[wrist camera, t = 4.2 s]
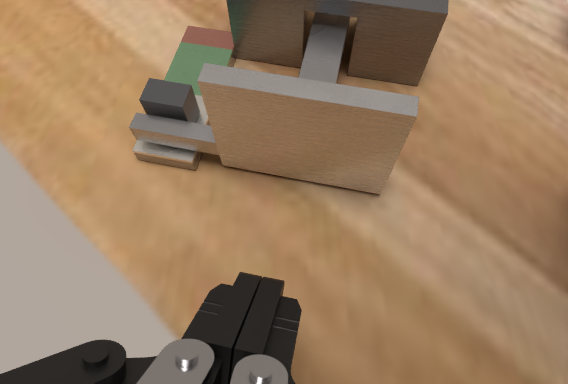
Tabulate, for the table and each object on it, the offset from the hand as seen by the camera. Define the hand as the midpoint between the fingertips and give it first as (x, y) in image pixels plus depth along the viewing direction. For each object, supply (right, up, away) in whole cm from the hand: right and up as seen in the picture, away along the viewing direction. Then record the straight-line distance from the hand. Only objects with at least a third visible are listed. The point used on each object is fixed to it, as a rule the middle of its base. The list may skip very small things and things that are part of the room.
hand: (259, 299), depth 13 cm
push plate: (0, +9, +12) cm, 15 cm away
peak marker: (-5, +8, +10) cm, 14 cm away
